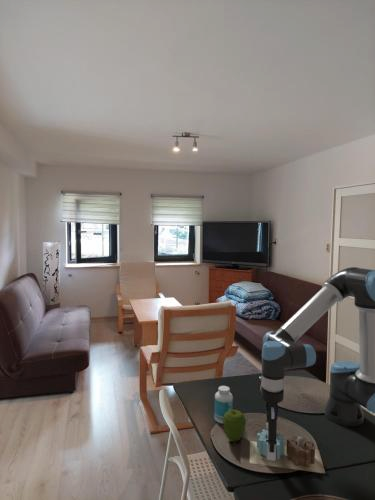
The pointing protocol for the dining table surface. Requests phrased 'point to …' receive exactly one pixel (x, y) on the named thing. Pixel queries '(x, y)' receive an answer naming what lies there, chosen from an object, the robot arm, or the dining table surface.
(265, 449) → the gear
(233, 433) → the apple
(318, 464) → the gear board
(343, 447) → the dining table surface
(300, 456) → the gear
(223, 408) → the pill bottle
